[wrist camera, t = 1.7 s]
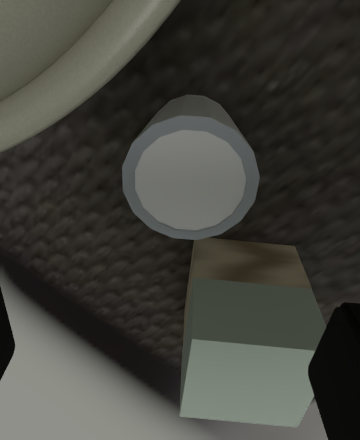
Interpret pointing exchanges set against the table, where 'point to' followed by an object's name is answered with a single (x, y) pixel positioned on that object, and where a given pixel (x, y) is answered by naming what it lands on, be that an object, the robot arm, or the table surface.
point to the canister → (65, 55)
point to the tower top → (249, 352)
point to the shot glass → (190, 170)
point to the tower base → (245, 264)
